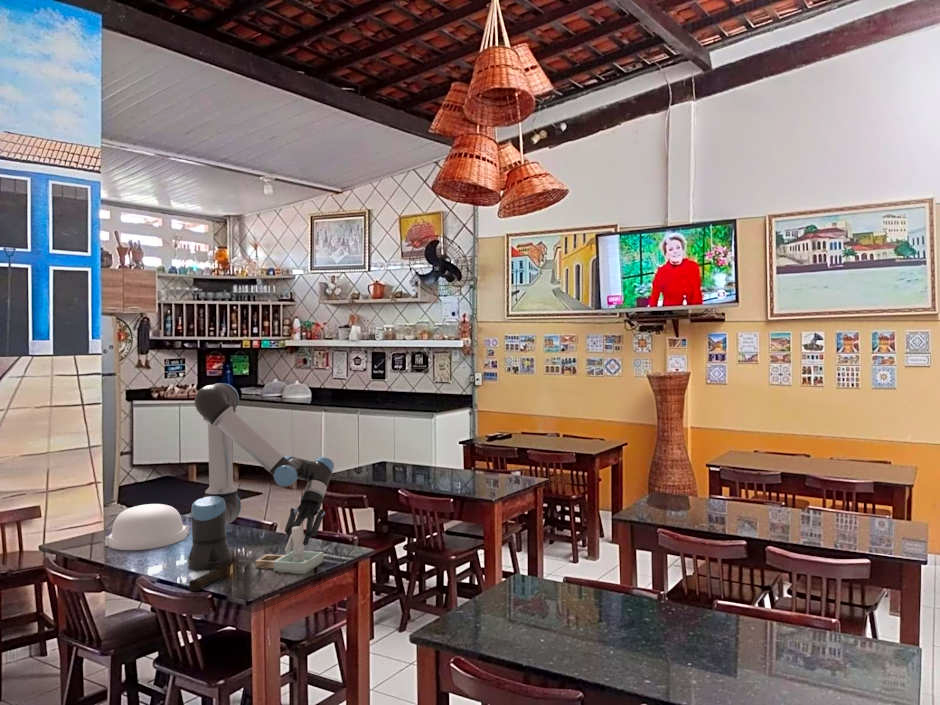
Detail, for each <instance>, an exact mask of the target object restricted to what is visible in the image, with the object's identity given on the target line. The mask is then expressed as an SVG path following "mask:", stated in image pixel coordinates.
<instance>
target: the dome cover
mask: <svg viewBox="0 0 940 705" xmlns="http://www.w3.org/2000/svg"><path fill="white" fill-rule="evenodd" d="M189 528H190V526H189V525H188V524H186V525H184V523H183V519H182V516H181V515H180V512H179V511H178V510H177V509H176V508H174V507H173V506H171V505H168V504H163V503H148V504H147V503H145V504H141V505H135V506H132V507H129V508H126V509H125V510H123V511H121V512H120V513H119V514H118V515H117V516H116V518H114V522H113V524H112V528H111V533H110V534H109V535H106V536H105V540H104V541H105V542H104V546H105V547H109V548H110V549H114V550H119V551H137V550H139V551H140V550H149V549H156V548H161V547H167V546H170V545H173V544H176V543H178V542H181V541H183V540H185V539H186V538H188V535H189V534H190V529H189Z"/></svg>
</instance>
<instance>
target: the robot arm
mask: <svg viewBox="0 0 940 705" xmlns="http://www.w3.org/2000/svg"><path fill="white" fill-rule="evenodd" d="M239 395H240V394H239V393H238V390H237V389H236V388H235V387H234V386H232V385H231V384H229V383H225V382H224V383H222V382H219V383H214V384H209V385H205V386H203V387H201V388H200V389H199V390H198V391H197V392H196V394H195V396H194V407H195V409H196V411H197V412H198V413H199V415H200V416H201V417H202V418H203V421H204V422H205V423H207V430H208V431H207V437H208V440H207V441H208V477H209V479H208V480H209V483H208V484H209V485H208V488H206V490H205V491H204V492H205V493H204V494H205V495H204V496H203V497H202V498H198V499H197V500H195V501H193V503H192V504H191V512H190V515H191V534H192V538H191V539H192V546H191V549H190V553H189V556H188V559H187V568H189V569H191V570H195V571H196V570H197V571H207V570H214V569H215V566H217V565H219V564H221V563H224V562H226V563H227V565H228V564H229V565H231V562H232V563H233V554H232V552H231V549H230V546H229V543H228V541H227V526H228V525H230V524H232V523H233V522H234V521H235V520H236V519H237V518H238V517H239V515H240V514H241V510H242V502H241V499H240V497H239V496H238V487H236V486H235V485H234V474H233V473H234V472H233V470H234V468H233V467H234V466H233V464H234V462H233V442H235V443H236V444H237V445H238V446H239V447H241V448H242V449H243V451H245V452H247V454H248V455H249V456H251V457H252V458H253V459H254V460H255V461H256V462H257V463H258V464H259V465H260V466H262V467H263V468H264V469H265V470H266V471H268V472H269V473H270V474H271V475H272V476H273V480H274V482H275V484H277V485H278V486H279V487H288V486H290V485H291V486H292V484H295V482H296V481H297V480H303V481H306V482H307V483H306V487H305V488H304V490H303V491H304V492H303V493H302V494H303V495H302V497H301V499H300V504H299V505H298V506H297V507H295V508H293V507H291V508H290V511H289V512H290V514H289V515H288V516H289V517H288V519H287V523H286V526H285V529H284V532H285V533H286V535H287V538H286V541H285V542H286V546H285V548H284V551H285V552H286V554H290V552H291V551H292V550H293V543H292V527H295V526H302V523H303V522H304V521H305V519H307V521H306V529H305V532H304V534H303V536H302V539H301V542H300V545H299V547H298V550H297V551H298V553H299V554H300V555H302V553H303V550H304V551H305V547H306V546H308V544H309V541H310V539H311V537H317V534H318V531H319V529H320V526H321V524H322V520H323V518H324V517H325V516H326V514H327V513H326V512H325V510H324V509H321V506H322V504H323V501H324V497H325V495H326V492H327V489H328V486H329V483H330V481H331V477H332V475H333V471H334V469H335V468H334V467H335V463H334V462H333V460H332V459H330V458H328V457H325V456H319V457H317V458H316V459H315V461H314V460H313V461H312V460H307V459H304V458H298V457H295V456H290V455H283V454H282V453H281V452H280V451H279V450H277V449H276V448H275V447H274V446H273V445H272V444H271V443H269V441H267V440H266V439H265V438H264V437H263V436H262V435H261V434H259V433H258V431H256V430H255V429H254V428H253V427H252V426H250V425H249V424H248V423H247V421H245V420H244V419H243V418H242V417H241V416H239V415H238V414H237V413H236V411H237V410H236V408H237V407H238V405H239V401H240V396H239ZM315 516H316V517H315ZM229 565H228V566H229Z"/></svg>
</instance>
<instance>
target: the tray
mask: <svg viewBox="0 0 940 705" xmlns="http://www.w3.org/2000/svg"><path fill="white" fill-rule="evenodd" d="M304 553H305V561H304V562H301V563H297V562H293V550H291V552H290V554H287V553H286V554H284V555H285V556H283V557H281V558H279V559H278V560H276V561H274V569H273V572H274V571H278V572H277V573H285V572H290V574H299V575H300V574H302V575H303V574H304V575H305V574H308V573H309V572H310V571H312V570H313V569H315V568H317V567H318V566H319V565H321V564H323V563H324V551H310V550H309V551H308V550H304Z"/></svg>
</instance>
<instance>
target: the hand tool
mask: <svg viewBox="0 0 940 705" xmlns="http://www.w3.org/2000/svg"><path fill="white" fill-rule="evenodd" d="M227 573H229V565H227V563H226V562H224V563H221V564H219V565H217V566H215V569H211V571H209V572H206V573H205V574H203V575H201V576H200V577H197V578H195V579H192V580H190V581H189V585H188V586H189V590H190V592H199V591H200V590H202V589H203V588H204V587H206V586H207V585H209V584H211V583H213V582H215V581H216V580H219V579H218V578H222V577H224V576H225V575H226V574H227ZM227 575H228V574H227ZM227 575H226V576H227ZM226 576H225V577H226ZM225 577H224V578H225ZM222 579H223V578H222Z"/></svg>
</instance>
